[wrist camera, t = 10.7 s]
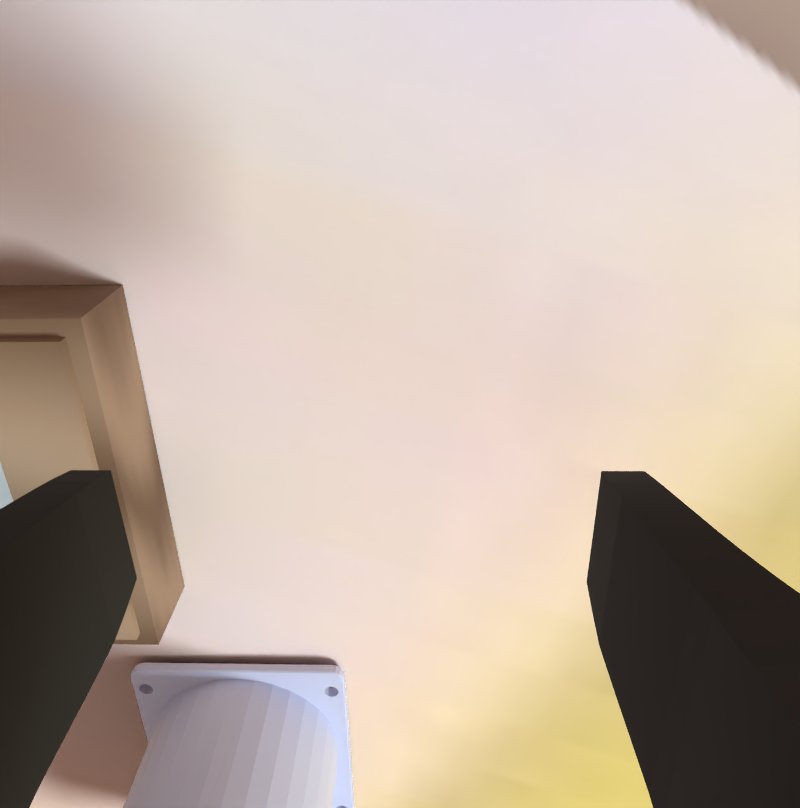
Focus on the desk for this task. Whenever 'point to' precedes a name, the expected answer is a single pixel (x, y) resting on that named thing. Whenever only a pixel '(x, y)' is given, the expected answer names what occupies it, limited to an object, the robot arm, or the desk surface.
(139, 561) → the walnut base
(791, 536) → the desk surface
